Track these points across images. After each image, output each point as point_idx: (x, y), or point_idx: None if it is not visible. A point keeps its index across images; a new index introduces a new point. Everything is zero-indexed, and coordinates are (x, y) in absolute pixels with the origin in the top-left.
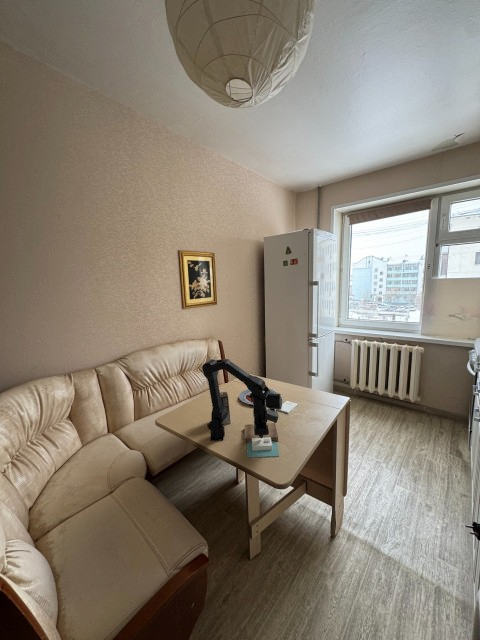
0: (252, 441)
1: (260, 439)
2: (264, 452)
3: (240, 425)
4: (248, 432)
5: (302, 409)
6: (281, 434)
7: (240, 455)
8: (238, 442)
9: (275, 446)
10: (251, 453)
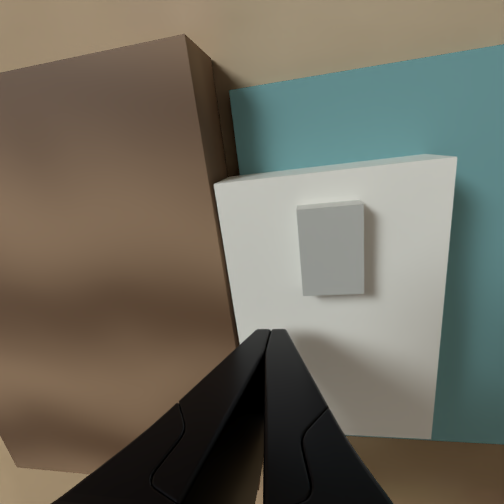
0: None
1: None
2: (476, 266)
3: None
4: None
5: None
6: (41, 5)
7: (461, 484)
8: (260, 483)
9: (357, 101)
10: (466, 405)
